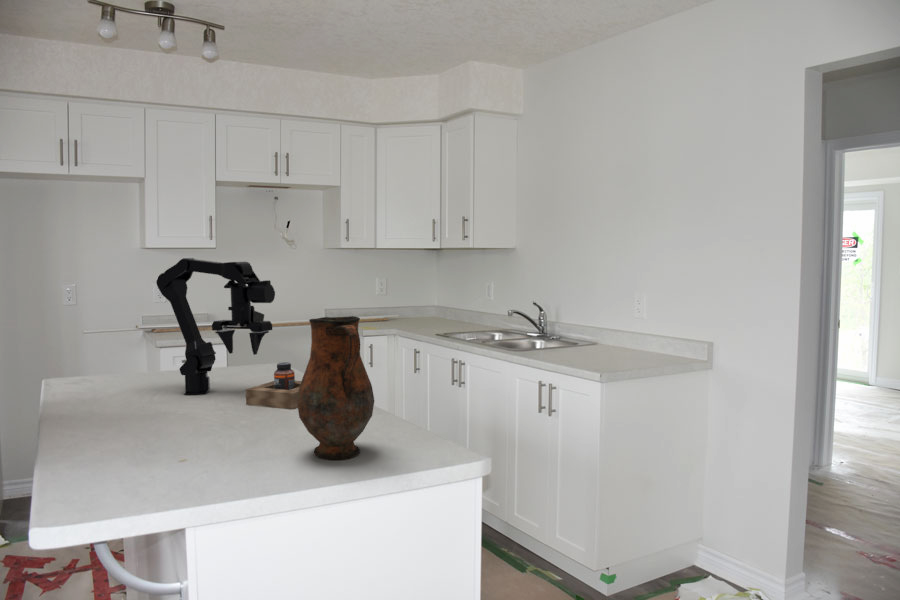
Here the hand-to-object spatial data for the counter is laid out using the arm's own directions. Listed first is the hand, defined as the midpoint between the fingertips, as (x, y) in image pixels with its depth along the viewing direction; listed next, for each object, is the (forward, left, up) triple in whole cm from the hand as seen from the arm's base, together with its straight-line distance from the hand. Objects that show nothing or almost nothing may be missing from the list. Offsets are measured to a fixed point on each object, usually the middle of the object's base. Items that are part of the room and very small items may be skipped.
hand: (242, 353), depth 206 cm
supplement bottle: (+13, -10, -13) cm, 21 cm away
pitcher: (+27, -67, -13) cm, 73 cm away
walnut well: (+13, -10, -13) cm, 21 cm away
